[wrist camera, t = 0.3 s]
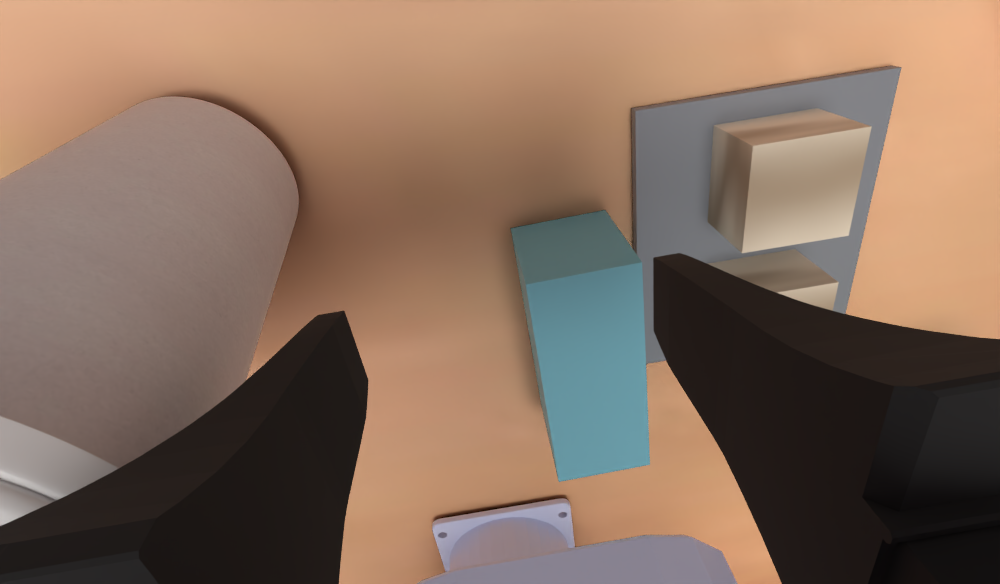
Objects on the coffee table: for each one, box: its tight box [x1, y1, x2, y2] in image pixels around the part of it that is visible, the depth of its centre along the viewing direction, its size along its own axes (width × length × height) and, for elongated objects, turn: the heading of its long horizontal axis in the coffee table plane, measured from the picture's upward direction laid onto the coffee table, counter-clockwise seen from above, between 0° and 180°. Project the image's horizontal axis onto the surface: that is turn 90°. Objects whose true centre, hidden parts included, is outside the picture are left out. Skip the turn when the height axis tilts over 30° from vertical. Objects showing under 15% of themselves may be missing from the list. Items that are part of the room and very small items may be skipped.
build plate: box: [631, 66, 901, 364], centre depth 23 cm, size 12×10×1 cm
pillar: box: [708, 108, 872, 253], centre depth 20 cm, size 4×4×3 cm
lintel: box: [511, 210, 650, 482], centre depth 23 cm, size 10×4×5 cm, turn 10°
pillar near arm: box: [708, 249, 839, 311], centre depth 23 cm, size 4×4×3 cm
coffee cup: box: [0, 96, 299, 526], centre depth 14 cm, size 10×10×15 cm
